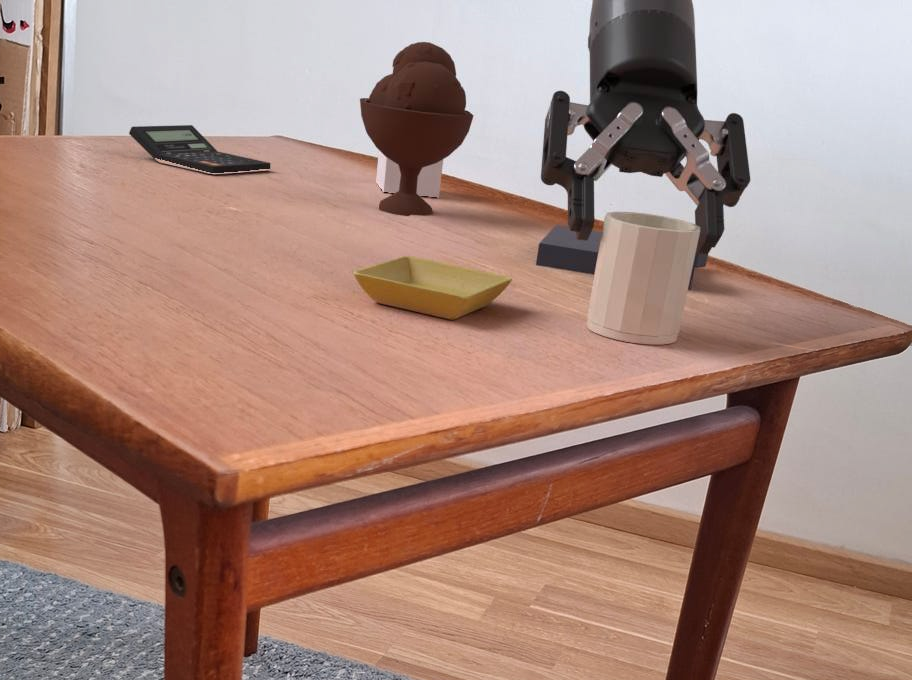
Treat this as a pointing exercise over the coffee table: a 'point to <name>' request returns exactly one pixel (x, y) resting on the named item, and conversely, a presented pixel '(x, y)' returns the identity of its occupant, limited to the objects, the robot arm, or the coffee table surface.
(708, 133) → the robot arm
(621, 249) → the faceted pencil cup
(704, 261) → the scale
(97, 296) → the coffee table surface
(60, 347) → the coffee table surface
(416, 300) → the yellow shallow tray
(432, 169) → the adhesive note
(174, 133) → the calculator
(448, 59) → the ice cream bowl
